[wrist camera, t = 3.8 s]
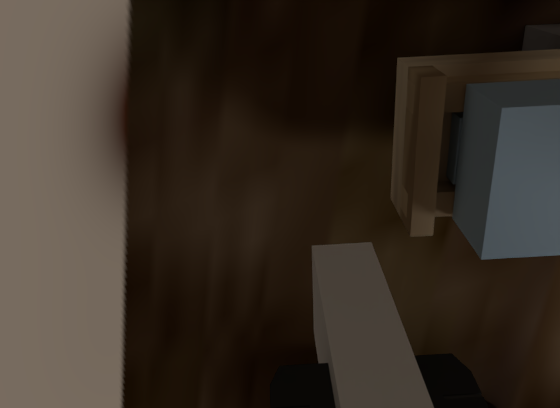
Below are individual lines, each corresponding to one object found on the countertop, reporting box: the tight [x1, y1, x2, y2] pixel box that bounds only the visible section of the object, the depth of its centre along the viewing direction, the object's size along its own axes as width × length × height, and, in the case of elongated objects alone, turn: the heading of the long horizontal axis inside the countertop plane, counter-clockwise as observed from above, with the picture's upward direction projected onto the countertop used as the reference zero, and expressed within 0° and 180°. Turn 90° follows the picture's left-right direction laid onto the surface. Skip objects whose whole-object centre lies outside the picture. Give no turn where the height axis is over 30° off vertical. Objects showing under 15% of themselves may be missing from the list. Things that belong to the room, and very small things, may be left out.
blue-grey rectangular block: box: [446, 79, 560, 259], centre depth 21 cm, size 4×6×5 cm, turn 3°
